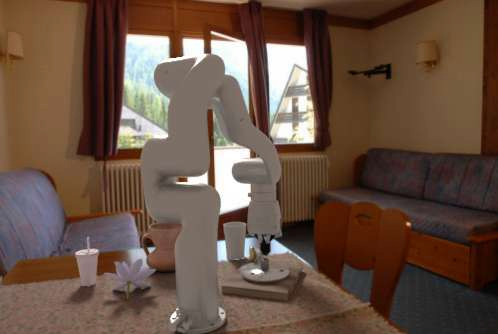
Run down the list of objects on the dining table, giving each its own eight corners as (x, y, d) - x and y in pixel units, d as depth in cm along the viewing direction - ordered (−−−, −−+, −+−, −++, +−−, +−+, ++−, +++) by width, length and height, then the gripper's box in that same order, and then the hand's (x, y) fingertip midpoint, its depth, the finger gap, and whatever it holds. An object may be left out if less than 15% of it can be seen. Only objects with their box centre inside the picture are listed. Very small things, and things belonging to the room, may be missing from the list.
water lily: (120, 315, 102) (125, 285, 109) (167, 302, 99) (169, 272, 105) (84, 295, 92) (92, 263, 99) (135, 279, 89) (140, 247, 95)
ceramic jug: (202, 262, 125) (200, 221, 124) (183, 277, 111) (182, 231, 110) (154, 258, 130) (153, 219, 129) (131, 273, 116) (129, 228, 115)
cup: (246, 261, 125) (245, 226, 124) (223, 261, 125) (222, 227, 124) (247, 254, 133) (246, 221, 132) (225, 254, 133) (224, 222, 132)
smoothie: (91, 289, 104) (89, 240, 103) (71, 287, 105) (69, 239, 104) (104, 280, 110) (102, 234, 109) (85, 279, 111) (83, 233, 110)
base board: (287, 300, 94) (286, 293, 93) (221, 292, 99) (221, 285, 99) (302, 271, 114) (302, 265, 114) (247, 266, 120) (247, 260, 120)
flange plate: (295, 280, 101) (295, 264, 101) (246, 285, 98) (246, 269, 98) (277, 260, 119) (276, 246, 119) (234, 264, 116) (234, 250, 116)
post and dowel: (270, 275, 106) (270, 256, 106) (263, 276, 105) (262, 257, 105) (253, 263, 117) (253, 246, 116) (246, 264, 116) (246, 247, 115)
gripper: (237, 198, 113) (239, 256, 115) (284, 199, 108) (285, 260, 110) (245, 194, 120) (247, 249, 122) (290, 195, 115) (291, 252, 117)
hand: (265, 254), depth 116 cm, fingers closed
